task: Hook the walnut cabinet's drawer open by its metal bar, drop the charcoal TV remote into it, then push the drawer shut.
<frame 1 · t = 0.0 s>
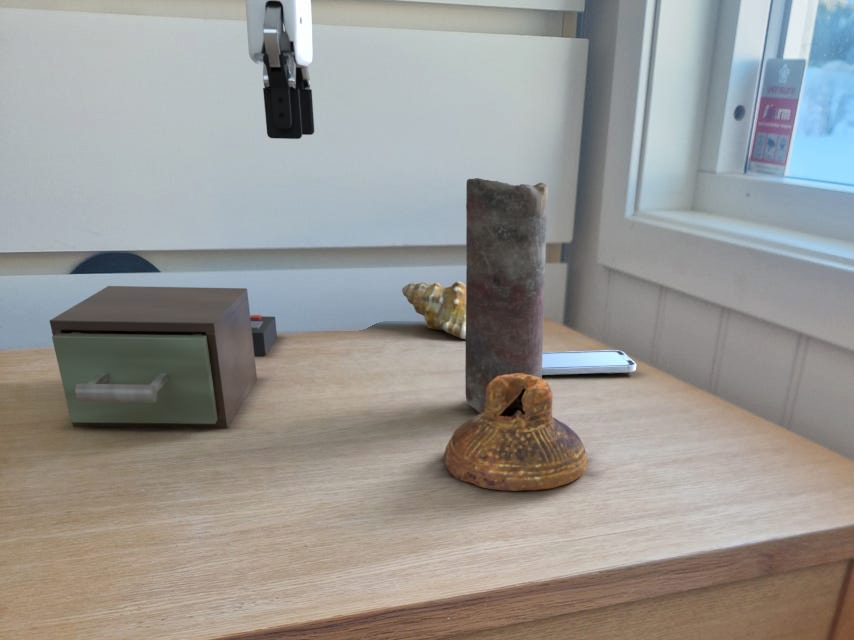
hand: (292, 136, 87), 22 cm above the table, tool pointing down, fingers open, 9 cm apart
seashell: (447, 333, 113), on the table
candle: (501, 410, 86), on the table
drawer: (149, 367, 79), point 5 cm above the table, slide at 0.5 cm
bell: (514, 469, 73), on the table
cabinet: (172, 401, 85), on the table
smartphone: (564, 369, 99), on the table
remote: (253, 346, 104), on the table
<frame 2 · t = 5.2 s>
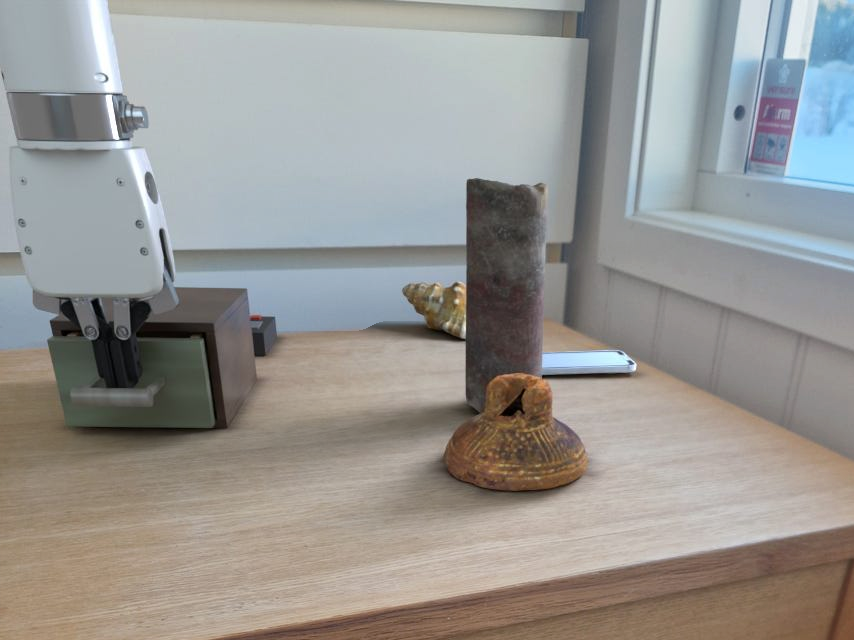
hand: (123, 386, 71), 5 cm above the table, tool pointing down, fingers closed
drawer: (146, 371, 78), point 5 cm above the table, slide at 1.6 cm
everything else where it was.
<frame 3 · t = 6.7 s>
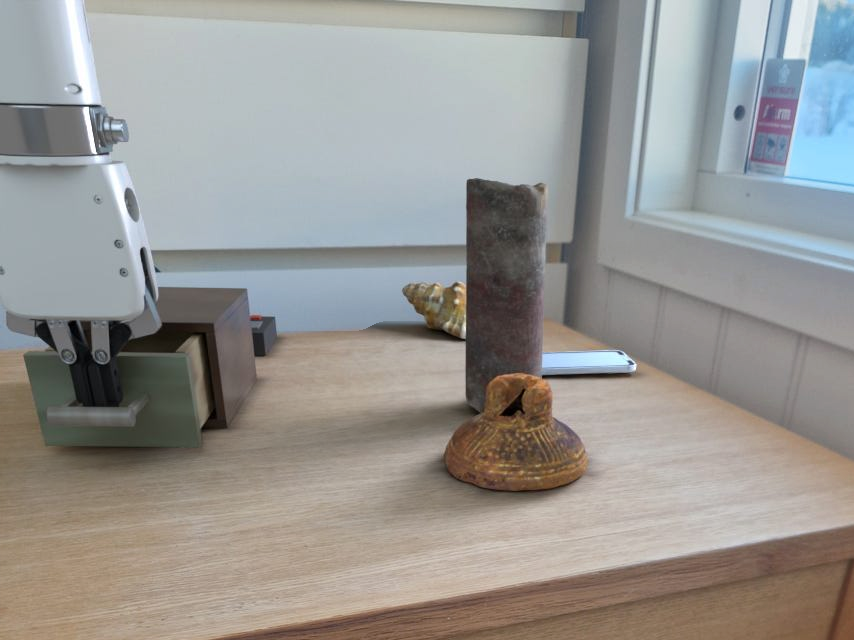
hand: (103, 411, 67), 5 cm above the table, tool pointing down, fingers closed
drawer: (130, 386, 73), point 5 cm above the table, slide at 6.5 cm, touching gripper
everything else where it was.
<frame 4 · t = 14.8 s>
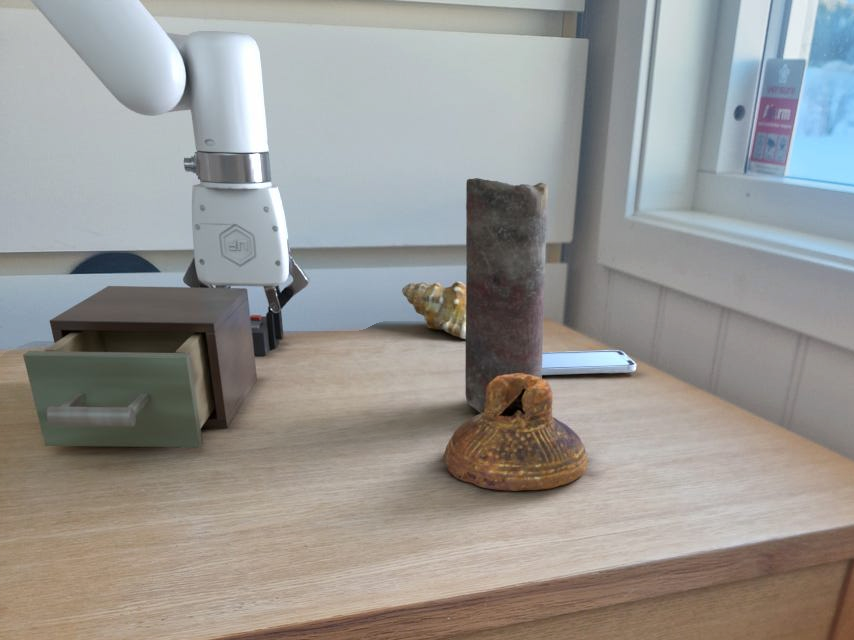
hand: (253, 343, 104), 0 cm above the table, tool pointing down, fingers closed on remote, 4 cm apart
drawer: (130, 386, 73), point 5 cm above the table, slide at 6.5 cm
remote: (253, 346, 104), on the table, touching gripper
everything else where it was.
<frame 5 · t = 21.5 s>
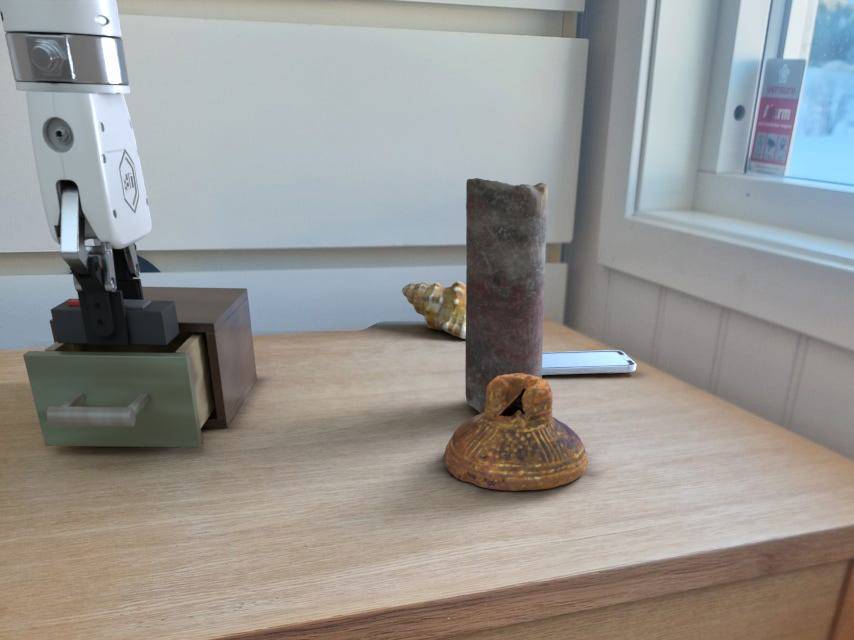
hand: (118, 334, 71), 9 cm above the table, tool pointing down, fingers closed on remote, 4 cm apart
remote: (120, 338, 71), point 8 cm above the table, touching gripper
everything else where it was.
when the fingers open (10 cm above the table, at t = 28.7 s): remote drops 8 cm, resting on drawer.
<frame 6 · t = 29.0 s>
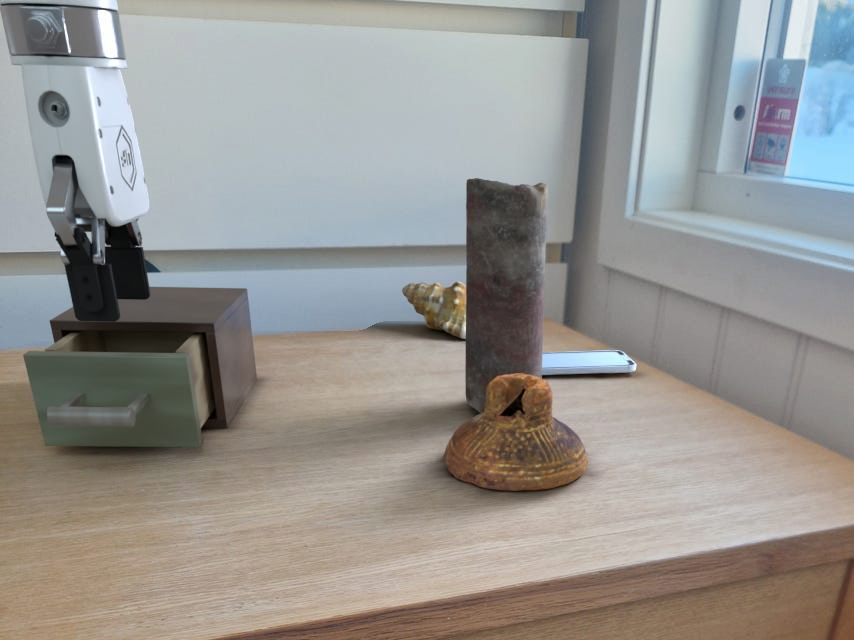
hand: (115, 307, 70), 11 cm above the table, tool pointing down, fingers open, 7 cm apart
drawer: (130, 386, 73), point 5 cm above the table, slide at 6.5 cm, touching remote
remote: (135, 416, 75), point 2 cm above the table, touching drawer
everything else where it was.
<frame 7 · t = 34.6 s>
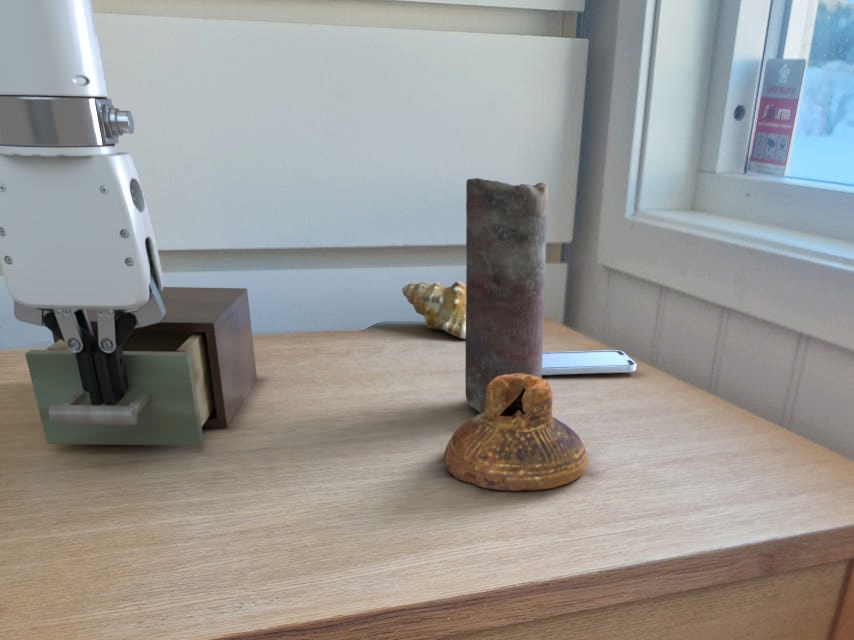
hand: (108, 400, 68), 5 cm above the table, tool pointing down, fingers closed
drawer: (131, 385, 74), point 5 cm above the table, slide at 6.1 cm, touching gripper, remote
everything else where it was.
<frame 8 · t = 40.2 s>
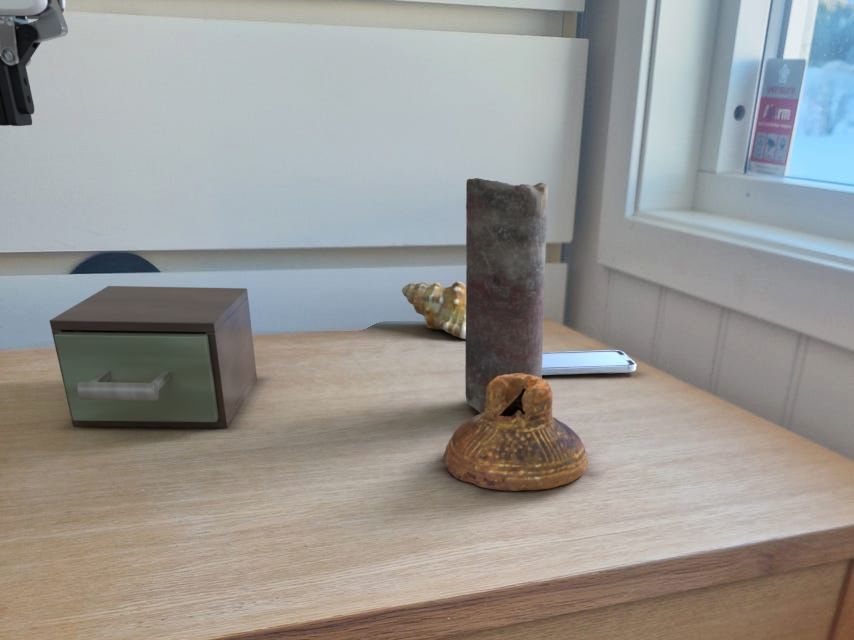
hand: (15, 124, 70), 23 cm above the table, tool pointing down, fingers closed
drawer: (151, 366, 79), point 5 cm above the table, slide at 0.0 cm, touching cabinet, remote
remote: (156, 394, 80), point 2 cm above the table, touching drawer
everything else where it was.
at the end: drawer pulled out 6.5 cm at the most during the clip, back to where it started at the end; remote inside the target area in the cabinet (4.6 cm from its centre), point 2.0 cm above the cabinet's base; drawer slide at 0.0 cm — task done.
